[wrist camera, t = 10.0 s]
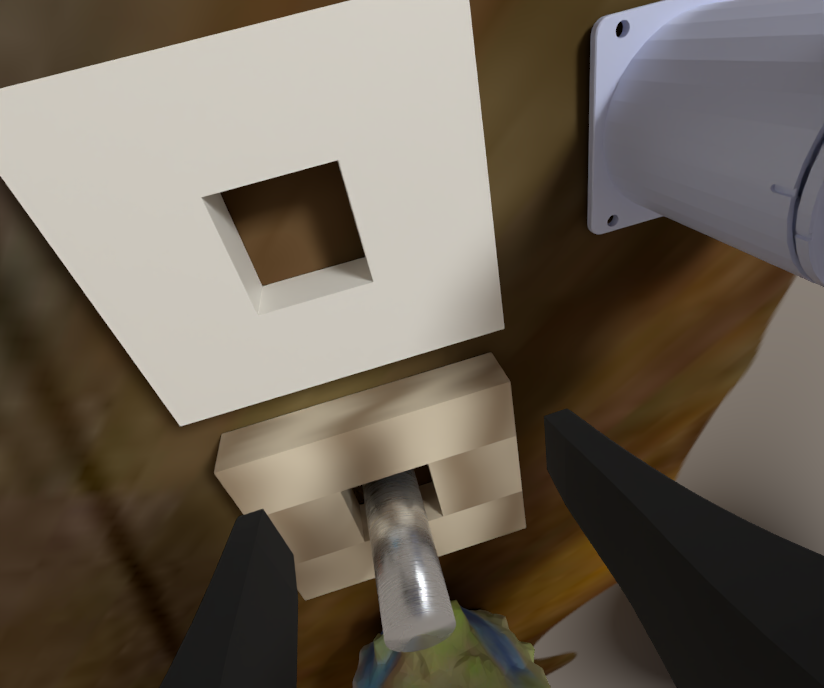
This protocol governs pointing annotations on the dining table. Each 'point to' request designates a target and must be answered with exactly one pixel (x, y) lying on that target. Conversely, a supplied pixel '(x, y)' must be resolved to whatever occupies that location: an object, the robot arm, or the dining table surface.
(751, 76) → the robot arm
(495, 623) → the decorative rock
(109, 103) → the socket block
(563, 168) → the dining table surface
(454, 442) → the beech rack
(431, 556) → the steel peg
